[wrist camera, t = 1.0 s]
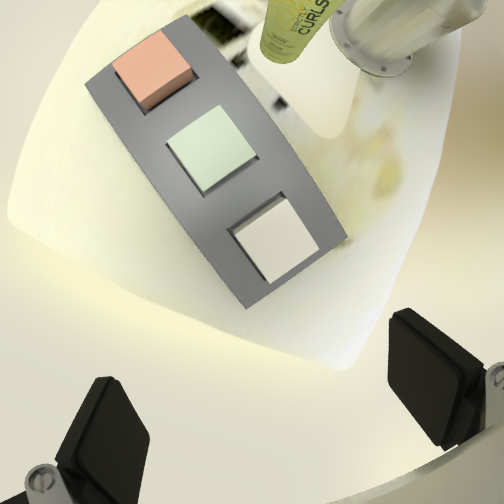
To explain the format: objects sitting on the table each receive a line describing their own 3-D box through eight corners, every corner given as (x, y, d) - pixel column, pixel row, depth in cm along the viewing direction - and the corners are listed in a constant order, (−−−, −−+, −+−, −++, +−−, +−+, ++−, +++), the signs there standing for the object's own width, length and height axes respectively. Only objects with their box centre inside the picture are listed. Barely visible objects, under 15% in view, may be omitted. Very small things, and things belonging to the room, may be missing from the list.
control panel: (188, 23, 28) (186, 14, 25) (339, 233, 35) (348, 237, 33) (92, 90, 28) (84, 84, 26) (244, 301, 36) (245, 309, 33)
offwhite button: (279, 197, 31) (286, 198, 28) (309, 242, 33) (319, 248, 29) (232, 229, 32) (234, 235, 28) (264, 273, 33) (269, 284, 30)
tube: (258, 67, 30) (298, -38, 11) (250, 32, 29) (279, -78, 10) (304, 63, 30) (378, -27, 11) (295, 30, 29) (354, -69, 10)
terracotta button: (165, 43, 26) (160, 30, 23) (193, 78, 28) (190, 67, 24) (121, 74, 27) (111, 63, 23) (147, 110, 28) (139, 102, 25)
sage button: (219, 112, 29) (219, 104, 25) (252, 158, 30) (256, 154, 27) (172, 145, 29) (166, 140, 26) (205, 191, 31) (203, 191, 27)
